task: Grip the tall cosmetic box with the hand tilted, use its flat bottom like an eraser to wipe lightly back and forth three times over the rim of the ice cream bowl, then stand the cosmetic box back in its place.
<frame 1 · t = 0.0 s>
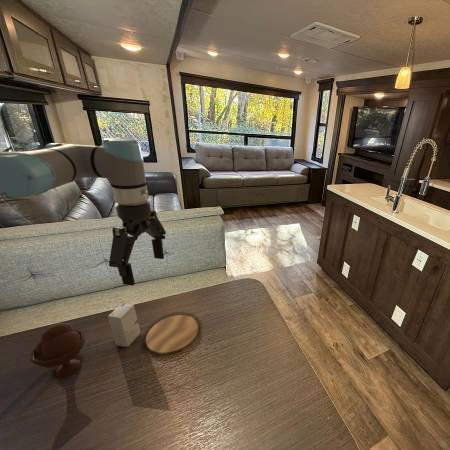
hand: (145, 270, 72), 27 cm above the table, tool pointing down, fingers open, 13 cm apart
ice cream bowl: (68, 369, 71), on the table
wooden trivet: (173, 334, 85), on the table
cosmetic box: (128, 339, 82), on the table
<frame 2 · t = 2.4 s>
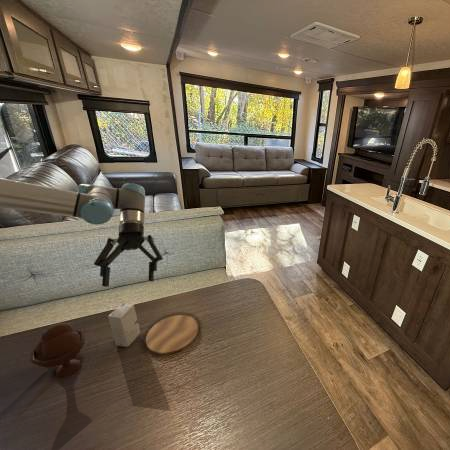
hand: (128, 283, 84), 15 cm above the table, tool tilted 45°, fingers open, 13 cm apart
nothing on the table moved.
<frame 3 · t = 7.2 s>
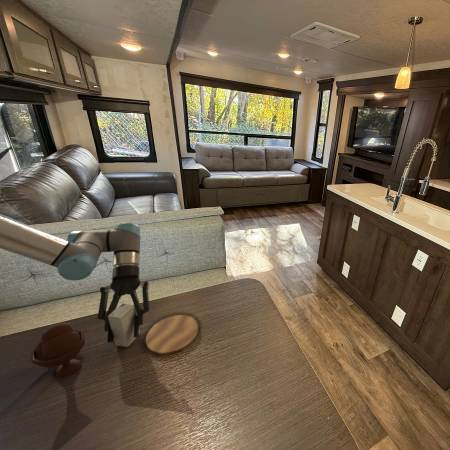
hand: (123, 339, 77), 4 cm above the table, tool tilted 45°, fingers closed on cosmetic box, 6 cm apart
cosmetic box: (128, 339, 82), on the table, touching gripper
everything else where it was.
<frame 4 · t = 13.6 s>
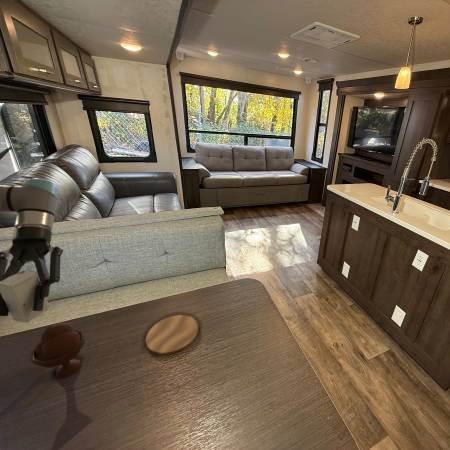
hand: (20, 313, 64), 19 cm above the table, tool tilted 45°, fingers closed on cosmetic box, 6 cm apart
cosmetic box: (33, 314, 68), point 15 cm above the table, touching gripper
everything else where it was.
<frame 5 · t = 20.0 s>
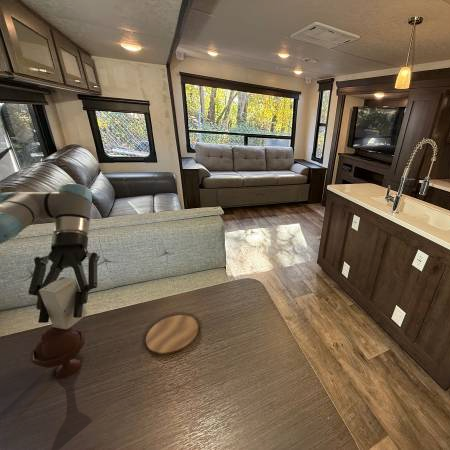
hand: (60, 319, 63), 19 cm above the table, tool tilted 45°, fingers closed on cosmetic box, 6 cm apart
cosmetic box: (71, 320, 68), point 15 cm above the table, touching gripper
everything else where it was.
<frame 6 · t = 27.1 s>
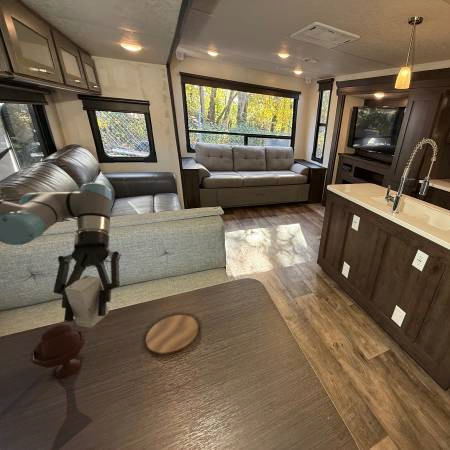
hand: (85, 318, 64), 20 cm above the table, tool tilted 45°, fingers closed on cosmetic box, 6 cm apart
cosmetic box: (94, 319, 68), point 16 cm above the table, touching gripper
everything else where it was.
when the fingers open (4 cm above the table, at t = 33.2 s): cosmetic box stays where it is, on the table.
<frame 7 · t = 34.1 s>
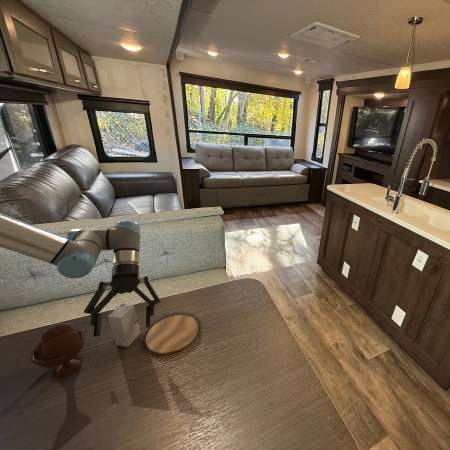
hand: (123, 331, 77), 6 cm above the table, tool tilted 45°, fingers open, 13 cm apart
cosmetic box: (128, 339, 82), on the table
everything else where it was.
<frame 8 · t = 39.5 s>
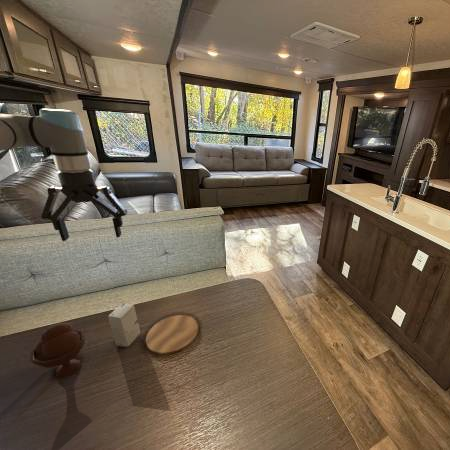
hand: (93, 237, 78), 32 cm above the table, tool pointing down, fingers open, 13 cm apart
nothing on the table moved.
at the end: ice cream bowl moved 0.2 cm from its start; cosmetic box inside the target area (0.0 cm from its centre), on the table; cosmetic box tilted 0° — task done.
